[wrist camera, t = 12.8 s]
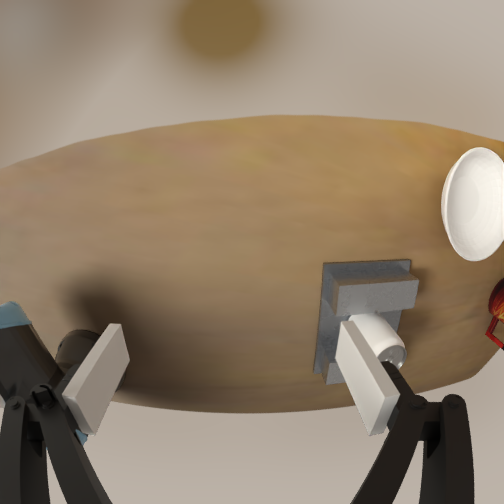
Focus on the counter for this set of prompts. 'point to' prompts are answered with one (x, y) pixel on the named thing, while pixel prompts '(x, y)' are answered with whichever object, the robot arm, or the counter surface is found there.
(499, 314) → the mug
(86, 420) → the robot arm
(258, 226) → the counter surface
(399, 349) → the can
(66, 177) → the counter surface
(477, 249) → the bowl
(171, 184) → the counter surface
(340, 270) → the gray metal fixture
